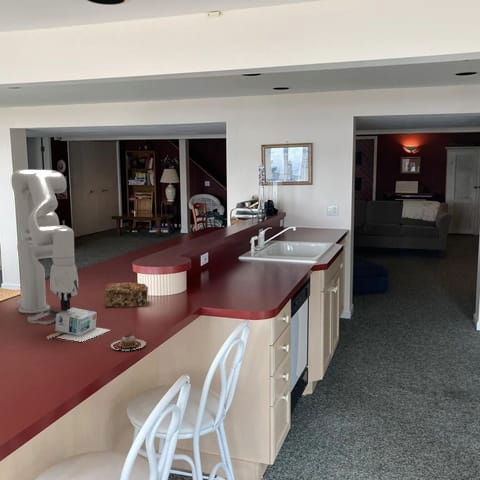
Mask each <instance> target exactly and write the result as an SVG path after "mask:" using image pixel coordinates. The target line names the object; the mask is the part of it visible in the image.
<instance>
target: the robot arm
mask: <svg viewBox="0 0 480 480" xmlns="http://www.w3.org/2000/svg"><path fill="white" fill-rule="evenodd" d="M10 178H11V179H10V180H11V181H10V182H11V186H12V187H11V188H12V190H13V193H14V196H15V197H16V200H17V213H18V224H19V225H18V226H19V230H20V231H21V232H22V233H23V234H28V235H30V236H28V237H23V238H20V239H19V241H18V242H17V245H16V247H17V248H16V249H17V253H18V258H19V265H20V279H21V280H20V282H21V297H20V298H19V300H16V304H19V305H20V306H19V307H18V312H20V313H24V314H40V313H41V312H44V313H45V312H47V311H48V310H49V309H50V308H51V305H49V304H48V303H47V297H46V296H47V295H46V277H45V276H46V273H45V267H44V265H43V264H42V263H41V262H40V261H39V260H40V259H49V258H51V261H52V263H53V264H52V265H51V267H50V273H49V274H50V275H49V289H50V291H51V292H52V293H53V294H55V295H57V297H58V299H59V301H60V311H61V312H63V311H66V310H69V309H70V308H71V299H72V298H73V297H74V296H78V290H79V276H78V269H77V265H76V264H75V262H76V260H75V259H76V258H75V232H74V230H73V229H72V228H71V227H69V226H67V225H60V220H59V216H58V215H57V213H56V212H55V210H56V209H57V208H58V205H59V202H58V200H57V196H56V195H55V194H62V193H65V191H66V190H67V180H66V177H65V176H64V174H63V173H61V172H60V171H57V170H53V169H34V168H33V169H30V168H29V169H28V168H27V169H18V170H16V171H14V172H13V173H12V174H11V177H10Z"/></svg>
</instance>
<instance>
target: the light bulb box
mask: <svg viewBox="0 0 480 480" xmlns="http://www.w3.org/2000/svg"><path fill="white" fill-rule="evenodd" d="M59 312H60V313H58V314H56V316H55V317H56V321H55V332H64V334H67V333H69V334H73V335H78V336H81V335H83V334H85V333H86V332H88V331H90V330H92V329H95V328H97V327H96V325H97V313H98V312H97V311H91V310H87V309H82V308H77V307H70V309H69V310H66V311H59Z"/></svg>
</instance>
